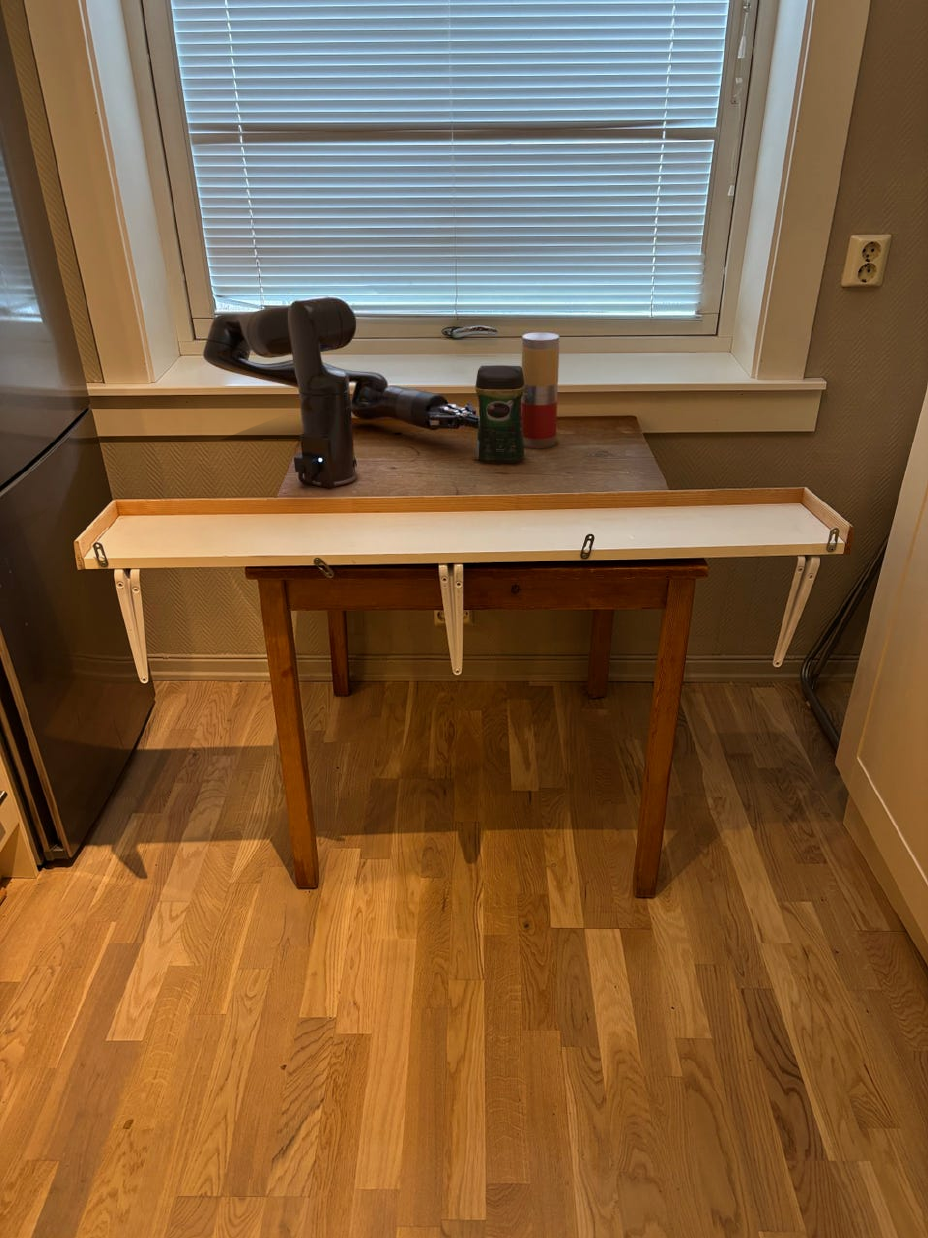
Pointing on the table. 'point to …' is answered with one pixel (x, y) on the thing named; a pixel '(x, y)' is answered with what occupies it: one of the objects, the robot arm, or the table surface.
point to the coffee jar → (500, 414)
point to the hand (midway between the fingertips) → (483, 423)
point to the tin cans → (539, 389)
